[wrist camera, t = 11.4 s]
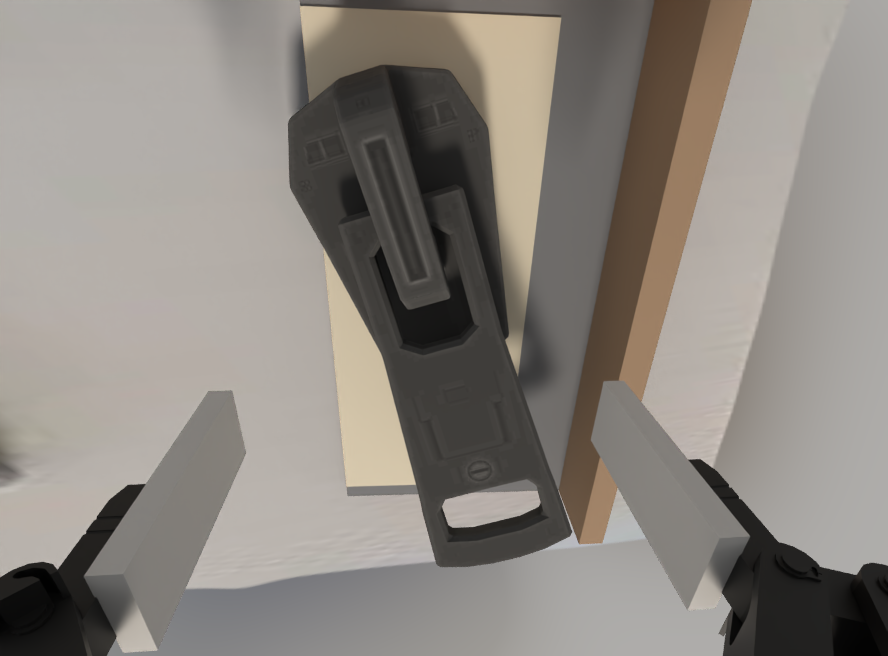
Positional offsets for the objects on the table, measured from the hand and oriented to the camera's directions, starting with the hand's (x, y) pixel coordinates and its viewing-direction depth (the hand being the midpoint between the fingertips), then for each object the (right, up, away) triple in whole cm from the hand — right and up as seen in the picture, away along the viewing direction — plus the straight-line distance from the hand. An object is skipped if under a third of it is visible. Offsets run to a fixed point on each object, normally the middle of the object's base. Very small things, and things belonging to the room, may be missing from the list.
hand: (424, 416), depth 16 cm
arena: (+2, +5, +9) cm, 11 cm away
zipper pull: (+1, +4, +9) cm, 10 cm away
